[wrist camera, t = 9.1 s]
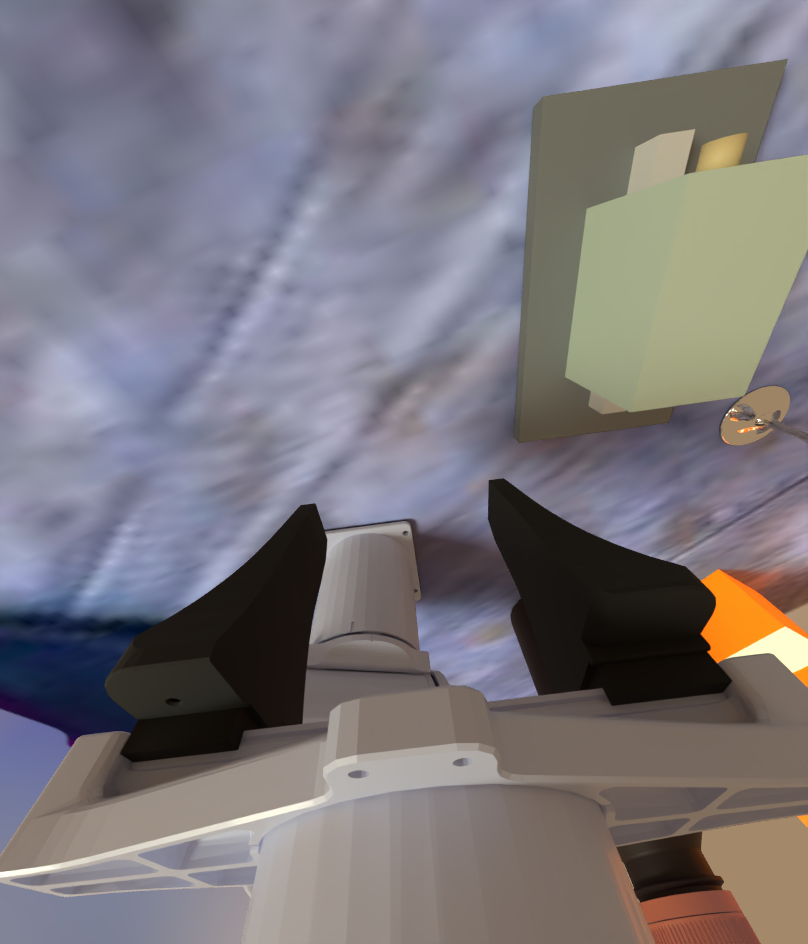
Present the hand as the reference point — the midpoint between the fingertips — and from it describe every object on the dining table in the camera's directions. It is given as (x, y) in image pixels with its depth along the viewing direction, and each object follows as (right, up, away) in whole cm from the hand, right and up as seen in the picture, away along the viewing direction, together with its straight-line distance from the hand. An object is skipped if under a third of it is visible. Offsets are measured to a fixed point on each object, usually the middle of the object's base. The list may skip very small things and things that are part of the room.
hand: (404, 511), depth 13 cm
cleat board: (+12, +12, +5) cm, 17 cm away
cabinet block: (+12, +11, +4) cm, 17 cm away
